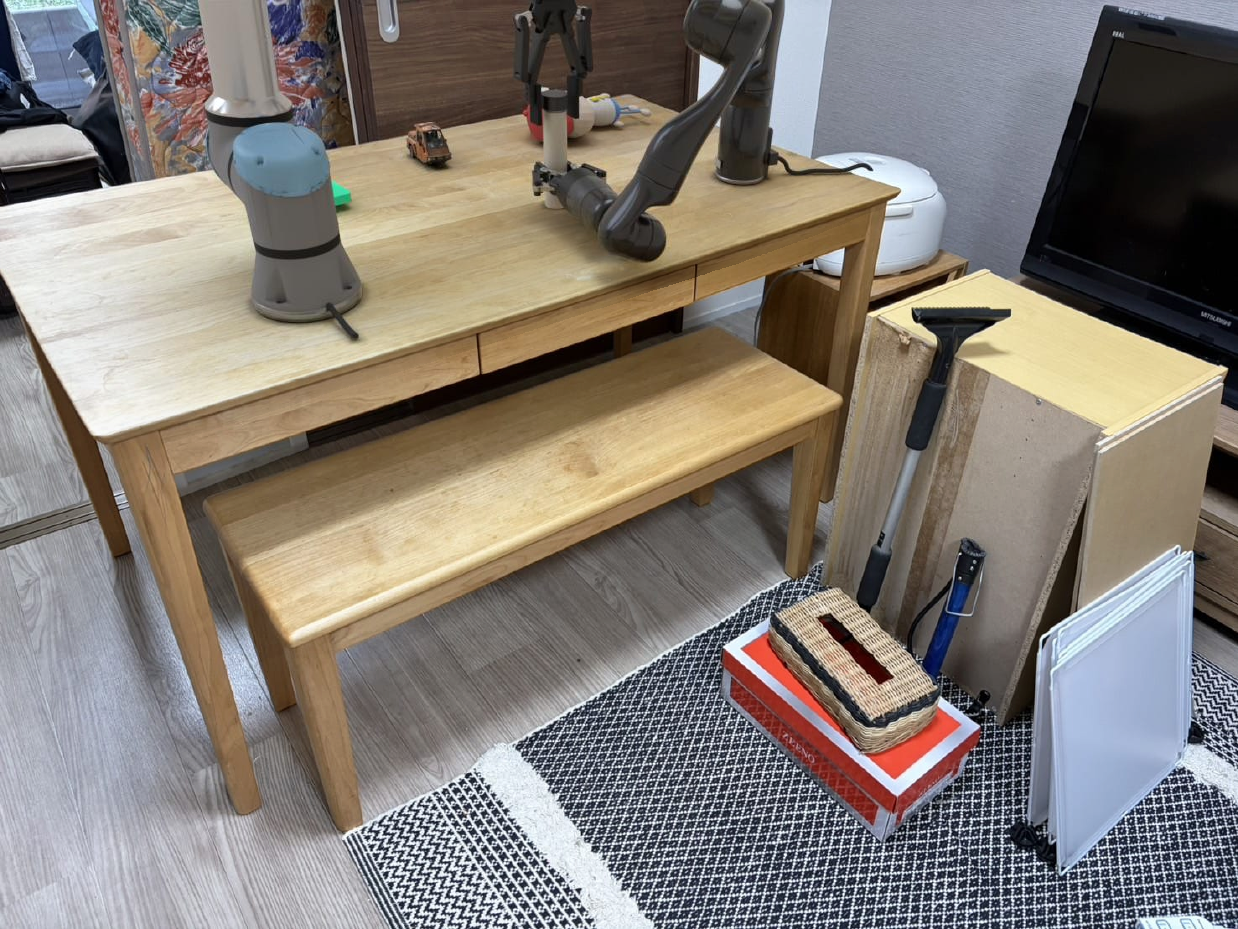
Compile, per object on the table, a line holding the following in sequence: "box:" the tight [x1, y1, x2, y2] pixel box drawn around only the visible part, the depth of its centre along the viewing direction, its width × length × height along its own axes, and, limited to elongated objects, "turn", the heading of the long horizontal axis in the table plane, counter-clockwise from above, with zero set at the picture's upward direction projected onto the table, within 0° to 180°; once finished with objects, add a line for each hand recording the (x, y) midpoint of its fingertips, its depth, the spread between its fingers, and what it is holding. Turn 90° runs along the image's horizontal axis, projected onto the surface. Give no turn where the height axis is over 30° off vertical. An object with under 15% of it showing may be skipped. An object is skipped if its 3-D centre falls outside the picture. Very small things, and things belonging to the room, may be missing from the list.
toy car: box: [405, 121, 453, 169], centre depth 181 cm, size 6×12×7 cm, turn 39°
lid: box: [542, 89, 568, 111], centre depth 155 cm, size 5×5×2 cm
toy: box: [522, 86, 652, 143], centre depth 198 cm, size 18×10×30 cm
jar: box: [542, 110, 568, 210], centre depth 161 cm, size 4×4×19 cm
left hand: (554, 119), depth 157 cm, fingers open, 7 cm apart
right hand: (549, 165), depth 165 cm, fingers closed on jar, 4 cm apart
